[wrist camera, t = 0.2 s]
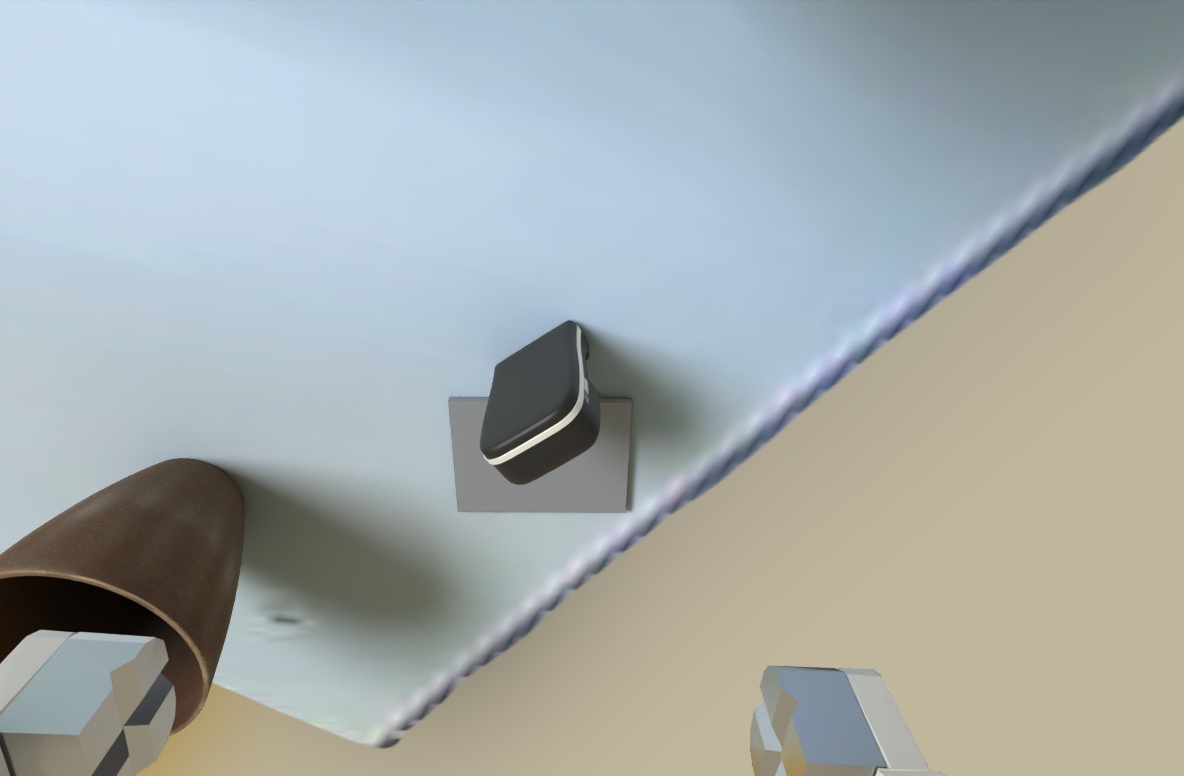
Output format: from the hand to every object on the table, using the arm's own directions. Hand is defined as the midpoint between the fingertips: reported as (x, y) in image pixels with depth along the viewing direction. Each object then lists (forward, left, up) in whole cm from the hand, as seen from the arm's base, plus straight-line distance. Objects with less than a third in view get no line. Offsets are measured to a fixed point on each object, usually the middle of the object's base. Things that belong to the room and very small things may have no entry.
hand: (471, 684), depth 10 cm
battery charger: (+15, 0, -39) cm, 42 cm away
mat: (+23, -1, -39) cm, 45 cm away
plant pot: (+27, -27, -39) cm, 55 cm away
